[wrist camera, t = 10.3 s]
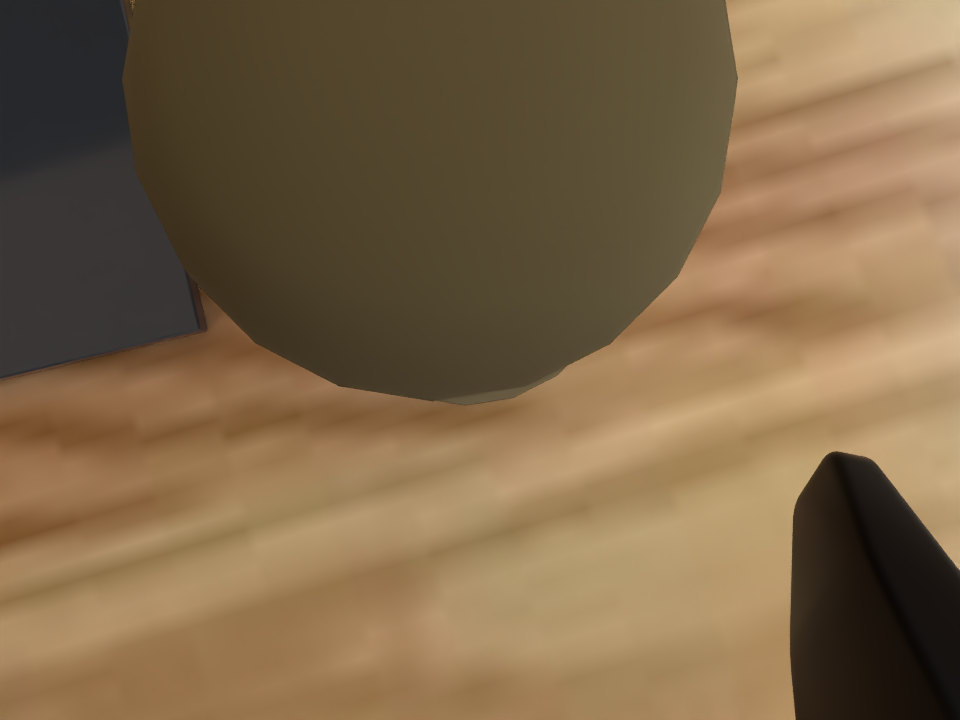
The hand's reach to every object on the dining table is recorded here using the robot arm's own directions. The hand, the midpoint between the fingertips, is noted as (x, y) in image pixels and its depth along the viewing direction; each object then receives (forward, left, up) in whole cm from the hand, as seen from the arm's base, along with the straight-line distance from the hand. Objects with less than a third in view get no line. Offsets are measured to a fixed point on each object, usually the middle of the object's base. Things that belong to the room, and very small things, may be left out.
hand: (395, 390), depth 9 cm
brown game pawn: (0, +3, -8) cm, 9 cm away
